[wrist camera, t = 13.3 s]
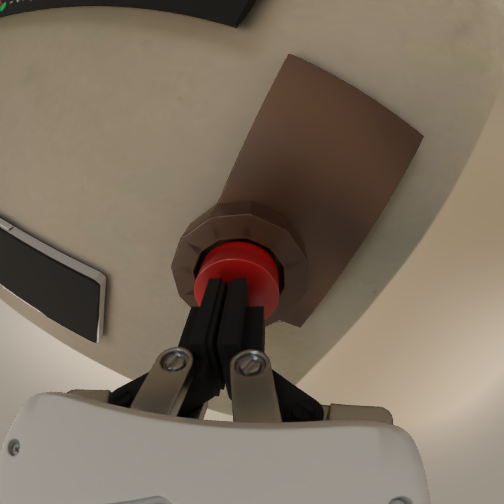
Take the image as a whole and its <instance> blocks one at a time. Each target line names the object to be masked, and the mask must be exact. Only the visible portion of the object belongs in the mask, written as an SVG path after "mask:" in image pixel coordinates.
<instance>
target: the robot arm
mask: <svg viewBox="0 0 504 504" xmlns="http://www.w3.org/2000/svg"><path fill="white" fill-rule="evenodd" d="M264 347H265V318H264V306H249V296H248V285H247V278H234V281H229V286H228V288H227V282H226V281H222V278H209V280H208V283H207V286H206V289H205V292H204V295H203V298H202V302H201V305H200V307H197V306H193V307H192V308H191V310H190V313H189V316H188V319H187V322H186V324H185V327H184V330H183V333H182V336H181V339H180V342H179V345H178V347H173V348H169V349H167V350H165V351H163V352H162V353H161V354H160V355H159V356H158V358H157V360H156V361H155V363H154V365H153V367H152V368H151V370H150V372H148V373H146V374H144V375H143V376H141V377H139V378H137V379H135V380H133V381H131V382H129V383H127V384H126V385H124V386H122V387H120V388H118V389H116V390H115V391H114V392H110V390H77V389H76V390H71V391H69V392H67V393H62V392H45V393H39V394H35V395H33V396H31V397H30V398H29V399H28V400H27V401H26V402H25V403H24V405H23V406H22V408H21V410H20V411H19V412H18V414H17V416H16V418H15V420H14V422H13V424H12V426H11V428H10V430H9V432H8V434H7V436H6V438H5V441H4V443H3V446H2V448H1V451H0V504H430V497H429V490H428V485H427V480H426V475H425V471H424V467H423V463H422V460H421V457H420V454H419V451H418V449H417V446H416V444H415V442H414V440H413V439H412V437H411V436H410V435H409V434H408V433H407V432H406V431H405V430H404V429H402V428H400V427H398V426H395V425H393V418H392V415H391V413H390V412H389V411H388V410H386V409H385V408H382V407H374V406H355V405H354V406H353V405H341V404H331V405H330V406H328V405H321V404H319V402H317V401H316V400H315V399H313V398H312V397H310V396H309V395H307V394H306V393H304V392H303V391H302V390H300V389H299V388H297V387H296V386H295V385H293V384H292V383H290V382H289V381H288V380H286V379H285V378H283V377H282V376H281V375H279V374H278V373H277V372H275V371H274V370H272V368H271V363H270V360H269V357H268V356H267V355H266V354H265V353H264ZM225 384H226V388H227V392H228V395H229V398H230V399H231V400H232V408H233V422H227V421H212V420H203V418H204V415H205V413H206V410H207V407H208V401H209V400H210V399H212V398H213V397H214V396H219V393H220V389H222V390H224V388H225Z"/></svg>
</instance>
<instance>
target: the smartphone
mask: <svg viewBox="0 0 504 504" xmlns="http://www.w3.org/2000/svg"><path fill="white" fill-rule="evenodd" d="M0 285H1V286H2V287H4V288H5V289H6V290H8V291H9V292H11V293H12V294H13V295H15V296H16V297H18V298H19V299H21V300H22V301H24V302H25V303H27V304H28V305H30V306H31V307H33V308H34V309H36V310H37V311H39V312H41V313H42V314H44V315H45V316H47V317H49V318H50V319H52V320H54V321H55V322H57V323H59V324H61V325H62V326H64V327H66V328H68V329H69V330H71V331H73V332H75V333H77V334H79V335H80V336H82V337H84V338H86V339H88V340H90V341H92V342H94V343H99V341H100V340H101V338H102V336H103V323H104V303H105V290H106V277H105V276H104V275H103V274H102V273H101V272H99V271H97V270H95V269H93V268H91V267H89V266H87V265H85V264H83V263H81V262H79V261H77V260H75V259H73V258H71V257H69V256H67V255H65V254H63V253H61V252H59V251H57V250H55V249H53V248H52V247H50V246H48V245H46V244H44V243H42V242H40V241H39V240H37V239H35V238H33V237H31V236H30V235H28V234H26V233H24V232H23V231H21V230H19V229H18V228H16V227H14V226H13V225H11V224H9V223H8V222H6V221H4V220H3V219H1V218H0Z"/></svg>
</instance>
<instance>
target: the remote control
mask: <svg viewBox="0 0 504 504" xmlns="http://www.w3.org/2000/svg"><path fill="white" fill-rule="evenodd" d="M255 1H256V0H0V17H4V16H8V15H13V14H18V13H23V12H29V11H35V10H42V9H50V8H60V7H74V6H117V7H132V8H143V9H151V10H159V11H166V12H172V13H177V14H183V15H188V16H193V17H197V18H201V19H206V20H210V21H214V22H217V23H221V24H225V25H228V26H232V27H235V28H237V27H238V26H239V24H240V23H241V22H242V20H243V19H244V18H245V16H246V15H247V14H248V12H249V11H250V9H251V8H252V6H253V4H254V3H255Z"/></svg>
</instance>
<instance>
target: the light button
mask: <svg viewBox="0 0 504 504" xmlns="http://www.w3.org/2000/svg"><path fill="white" fill-rule="evenodd" d="M209 278H222V281H226V282H227V288H228V286H229V281H234V278H247V285H248V296H249V306H264V318H265V319H267V318H268V317H269V316H270V315H271V314H272V313H273V312H274V310H275V309H276V307H277V305H278V302H279V273H278V268H277V265H276V263H275V261H274V259H273V258H272V257H271V256H270V254H269V253H267V252H266V251H265V250H264V249H262V248H261V247H259V246H257V245H255V244H252V243H248V242H243V241H232V242H227V243H223V244H221V245H219V246H217V247H215V248H214V249H212V250H211V251H210V252H209V253H208V254H207V256H206V257H205V259H204V261H203V263H202V266H201V268H200V271H199V273H198V276H197V278H196V281H195V285H194V294H195V298H196V301H197V303H198V305H199V306H200V305H201V302H202V298H203V295H204V292H205V289H206V286H207V283H208V280H209Z"/></svg>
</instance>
